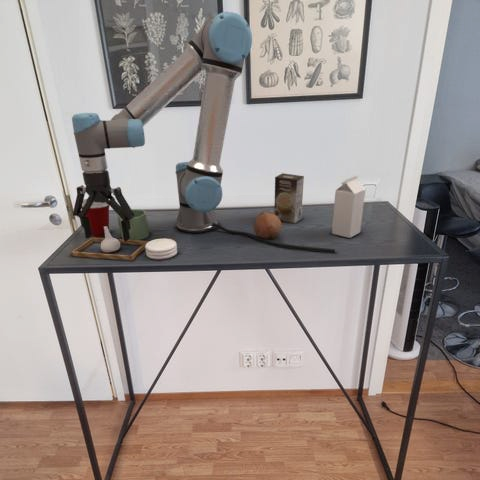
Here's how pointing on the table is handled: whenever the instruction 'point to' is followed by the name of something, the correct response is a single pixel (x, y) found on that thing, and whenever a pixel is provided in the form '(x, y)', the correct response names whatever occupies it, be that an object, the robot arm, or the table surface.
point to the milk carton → (348, 208)
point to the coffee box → (288, 197)
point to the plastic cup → (98, 217)
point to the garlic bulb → (109, 242)
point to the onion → (267, 226)
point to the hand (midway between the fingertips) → (108, 238)
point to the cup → (137, 225)
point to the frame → (109, 256)
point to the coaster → (161, 249)
